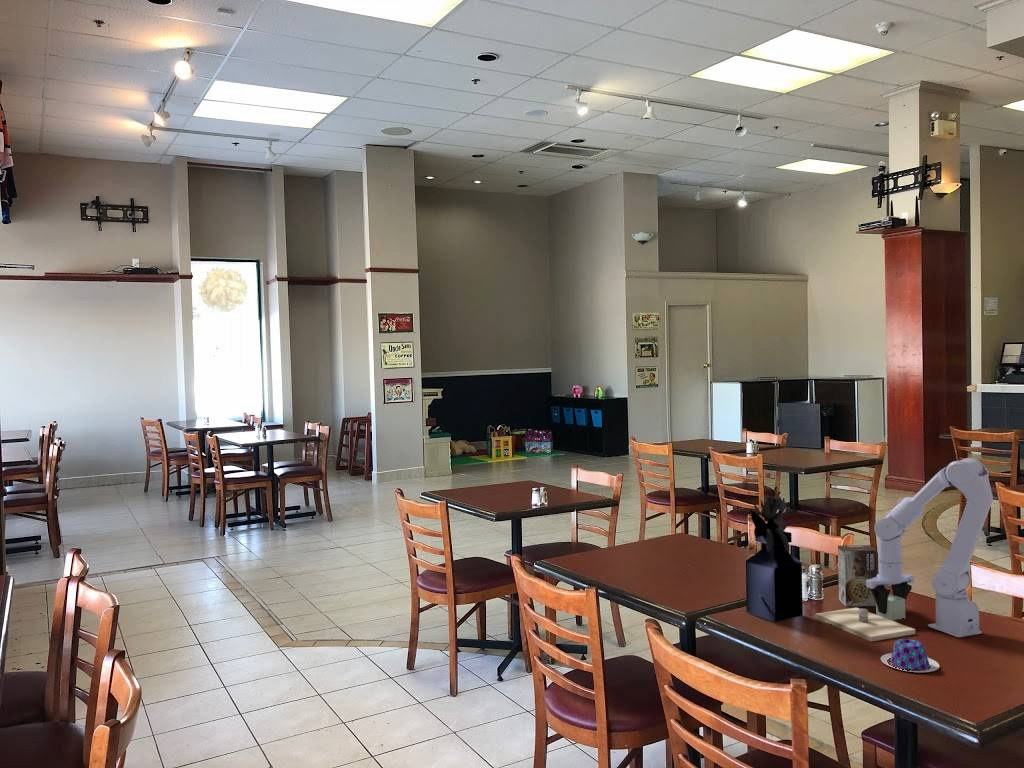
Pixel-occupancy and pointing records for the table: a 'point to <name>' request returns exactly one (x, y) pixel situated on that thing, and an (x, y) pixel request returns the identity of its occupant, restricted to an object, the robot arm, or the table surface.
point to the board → (865, 624)
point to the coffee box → (856, 574)
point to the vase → (773, 567)
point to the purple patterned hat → (910, 656)
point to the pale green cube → (893, 608)
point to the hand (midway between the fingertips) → (890, 611)
